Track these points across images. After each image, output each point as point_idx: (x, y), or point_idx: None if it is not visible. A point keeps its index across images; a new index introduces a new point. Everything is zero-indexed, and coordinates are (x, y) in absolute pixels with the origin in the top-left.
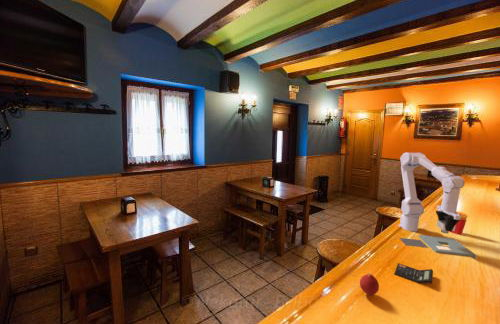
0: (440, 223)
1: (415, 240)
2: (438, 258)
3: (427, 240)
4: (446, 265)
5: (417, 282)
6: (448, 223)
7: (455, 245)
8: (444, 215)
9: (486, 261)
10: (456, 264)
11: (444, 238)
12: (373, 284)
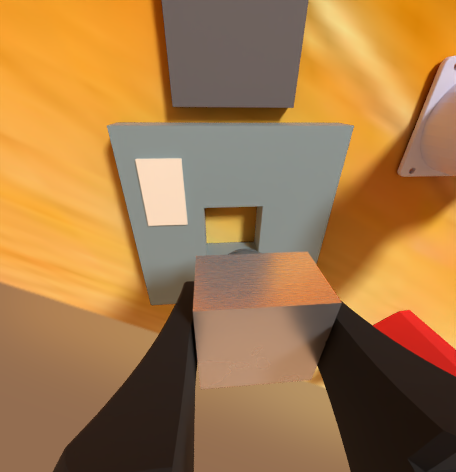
0: (256, 291)
1: (279, 54)
2: (59, 111)
3: (264, 145)
4: None
5: None
6: (143, 364)
7: None
8: (362, 427)
9: (149, 313)
10: (36, 186)
11: None
12: None
